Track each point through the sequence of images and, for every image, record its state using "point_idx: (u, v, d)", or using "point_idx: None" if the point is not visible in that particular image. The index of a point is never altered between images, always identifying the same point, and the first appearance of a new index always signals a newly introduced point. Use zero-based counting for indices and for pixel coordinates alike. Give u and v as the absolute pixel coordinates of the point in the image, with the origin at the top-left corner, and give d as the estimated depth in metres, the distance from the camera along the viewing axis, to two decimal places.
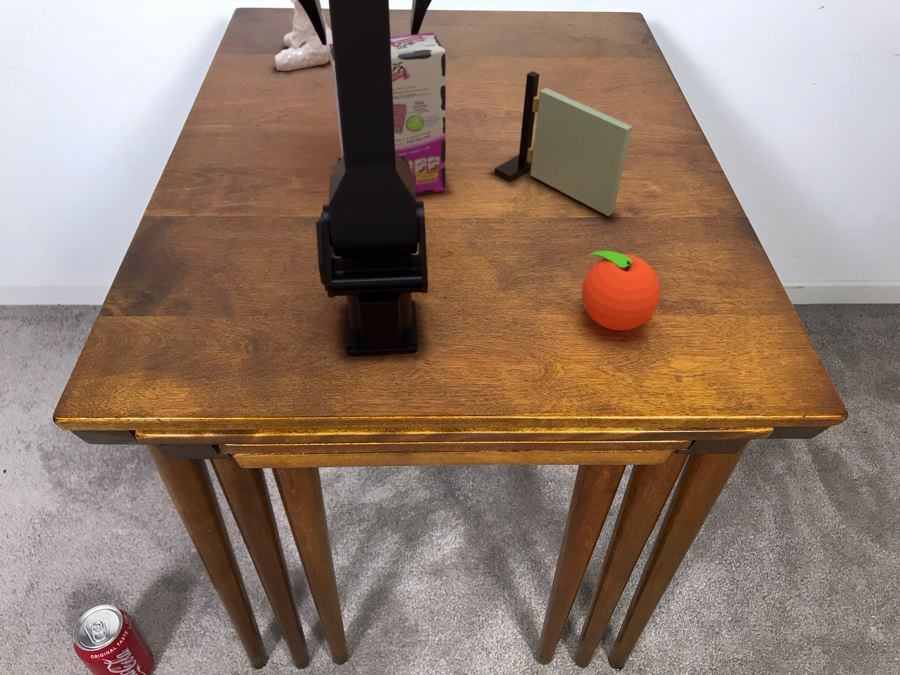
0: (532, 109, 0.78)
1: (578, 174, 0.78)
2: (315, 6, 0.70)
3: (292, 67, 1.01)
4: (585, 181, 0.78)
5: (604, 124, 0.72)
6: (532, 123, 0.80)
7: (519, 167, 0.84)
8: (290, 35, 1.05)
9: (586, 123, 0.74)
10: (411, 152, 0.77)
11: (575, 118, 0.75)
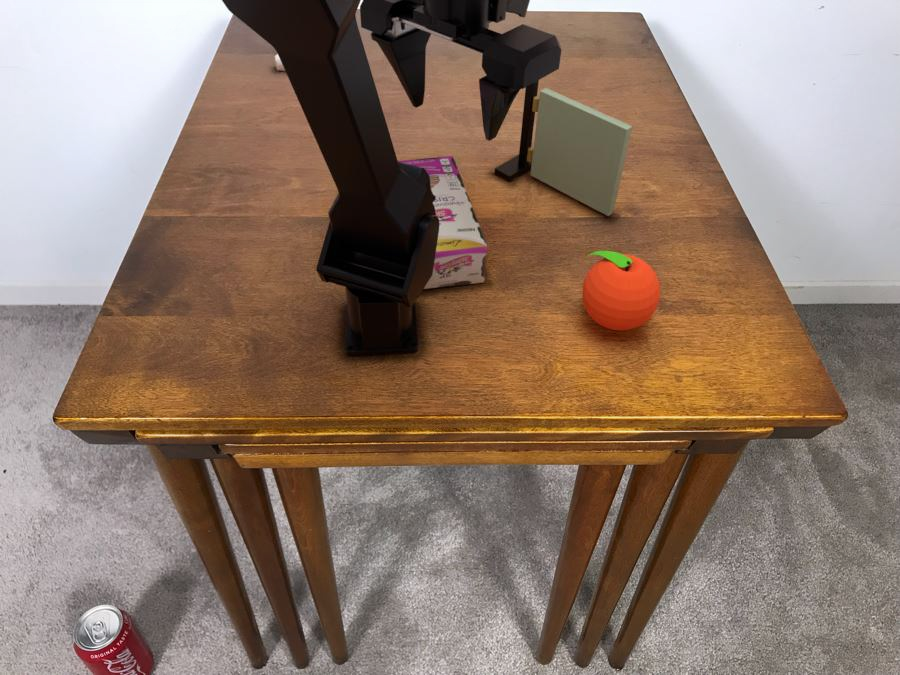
0: (532, 109, 0.78)
1: (578, 174, 0.78)
2: (398, 66, 0.66)
3: None
4: (585, 181, 0.78)
5: (604, 124, 0.72)
6: (532, 123, 0.80)
7: (519, 167, 0.84)
8: None
9: (586, 123, 0.74)
10: None
11: (575, 118, 0.75)
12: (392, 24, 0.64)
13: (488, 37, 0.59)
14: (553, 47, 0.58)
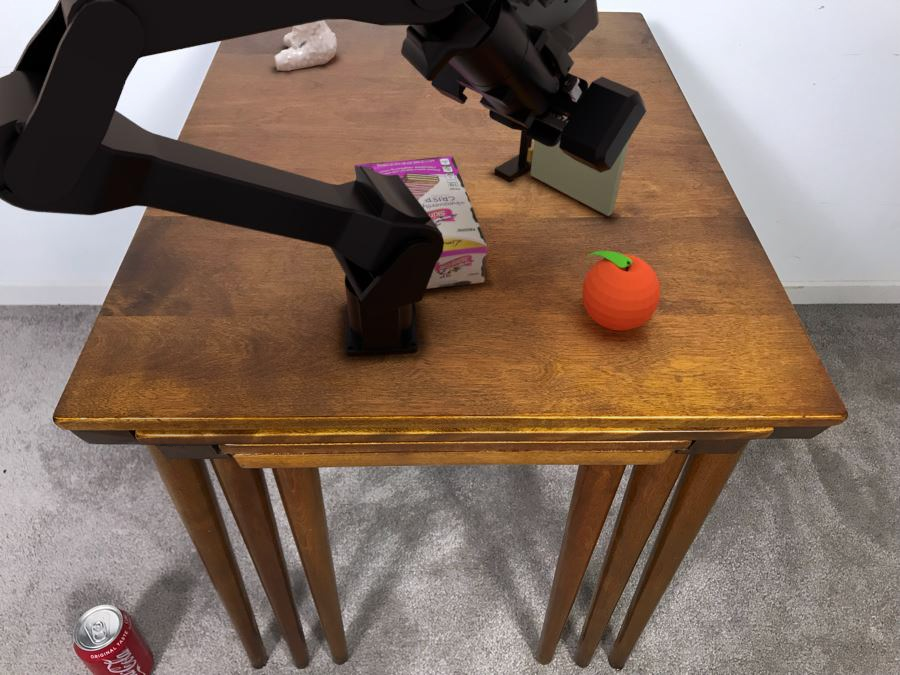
0: None
1: (578, 174, 0.78)
2: None
3: (292, 67, 1.01)
4: (585, 181, 0.78)
5: None
6: None
7: (519, 167, 0.84)
8: (290, 35, 1.05)
9: None
10: None
11: None
12: None
13: (561, 110, 0.56)
14: (629, 113, 0.53)
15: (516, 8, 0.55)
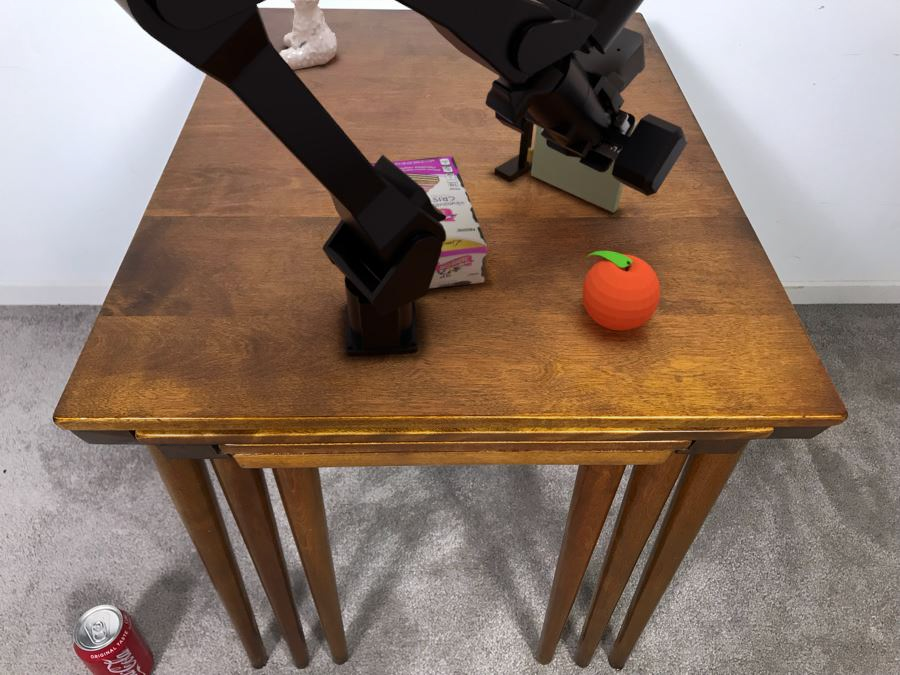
0: None
1: (581, 172, 0.78)
2: (580, 157, 0.71)
3: (292, 67, 1.01)
4: (589, 179, 0.78)
5: None
6: (532, 123, 0.80)
7: (519, 167, 0.84)
8: (290, 35, 1.05)
9: None
10: None
11: None
12: None
13: (613, 142, 0.65)
14: (674, 146, 0.62)
15: (575, 54, 0.64)
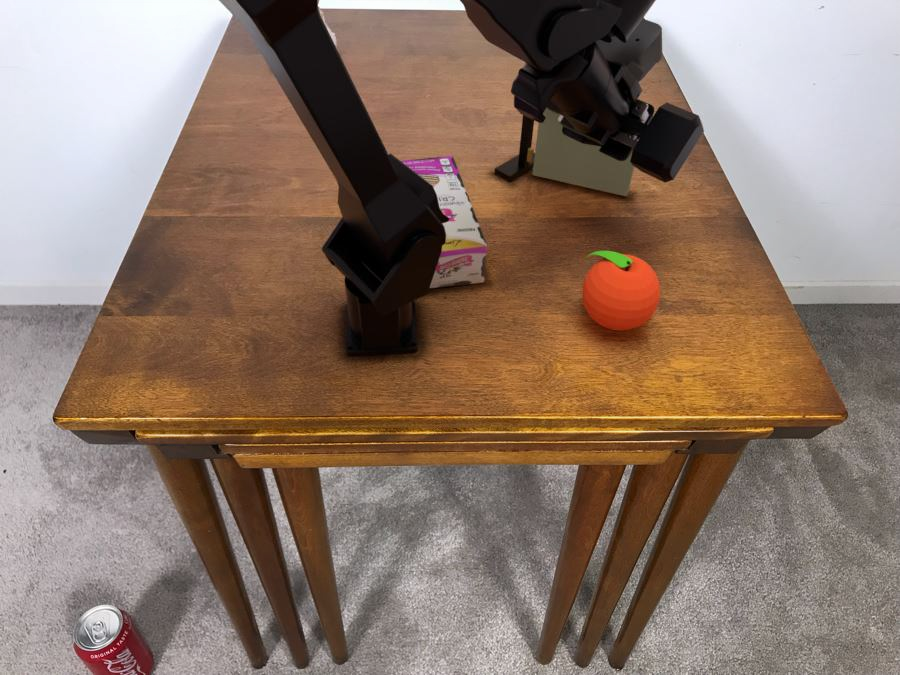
0: None
1: (591, 163, 0.80)
2: (595, 145, 0.73)
3: None
4: (599, 168, 0.80)
5: None
6: (532, 123, 0.80)
7: (519, 167, 0.84)
8: None
9: None
10: None
11: None
12: None
13: (631, 130, 0.66)
14: (692, 133, 0.64)
15: None
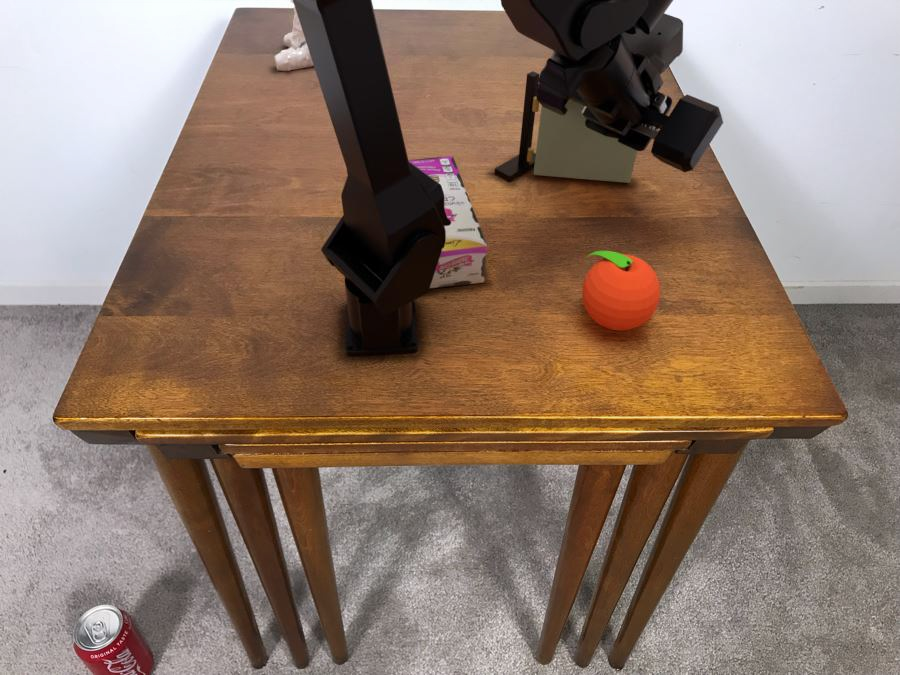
0: (532, 109, 0.78)
1: (593, 155, 0.81)
2: (617, 138, 0.75)
3: (292, 67, 1.01)
4: (602, 159, 0.81)
5: None
6: (532, 123, 0.80)
7: (519, 167, 0.84)
8: (290, 35, 1.05)
9: None
10: None
11: None
12: None
13: (652, 121, 0.68)
14: (712, 124, 0.66)
15: None
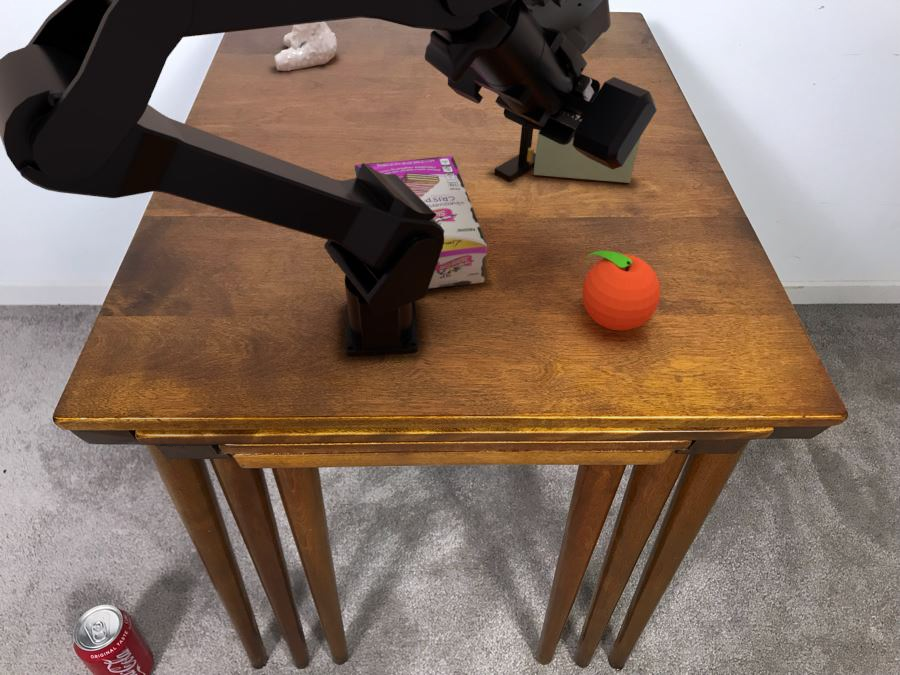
0: None
1: None
2: None
3: (292, 67, 1.01)
4: None
5: None
6: None
7: (519, 167, 0.84)
8: (290, 35, 1.05)
9: None
10: None
11: None
12: None
13: (574, 109, 0.58)
14: (641, 112, 0.55)
15: (531, 11, 0.57)
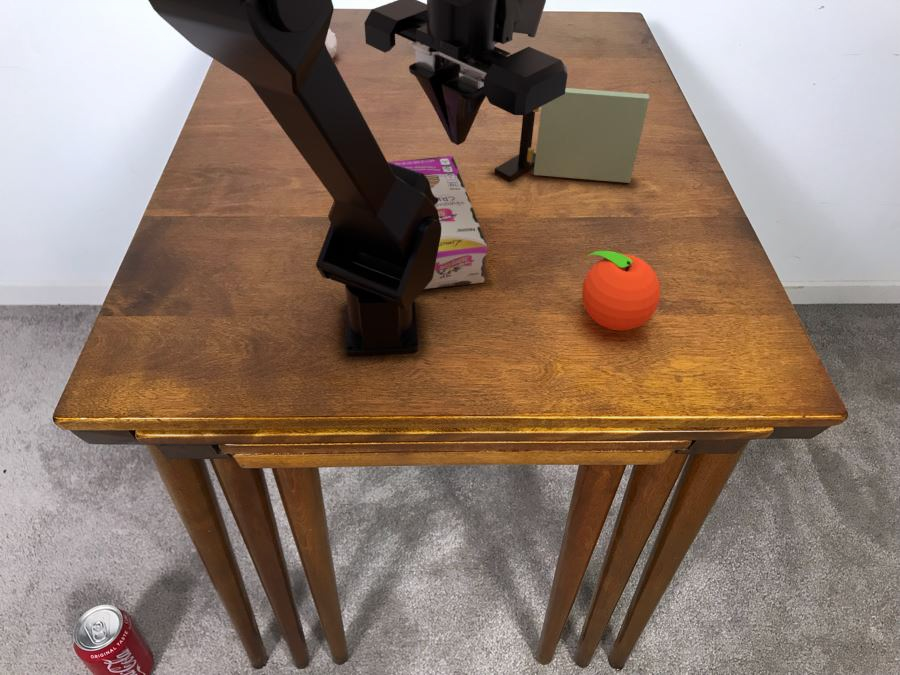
0: None
1: (593, 155, 0.81)
2: (437, 101, 0.62)
3: None
4: (602, 159, 0.81)
5: (623, 100, 0.76)
6: (532, 123, 0.80)
7: (519, 167, 0.84)
8: None
9: (602, 106, 0.77)
10: None
11: (588, 104, 0.77)
12: (432, 58, 0.60)
13: (492, 59, 0.57)
14: (558, 72, 0.56)
15: None
